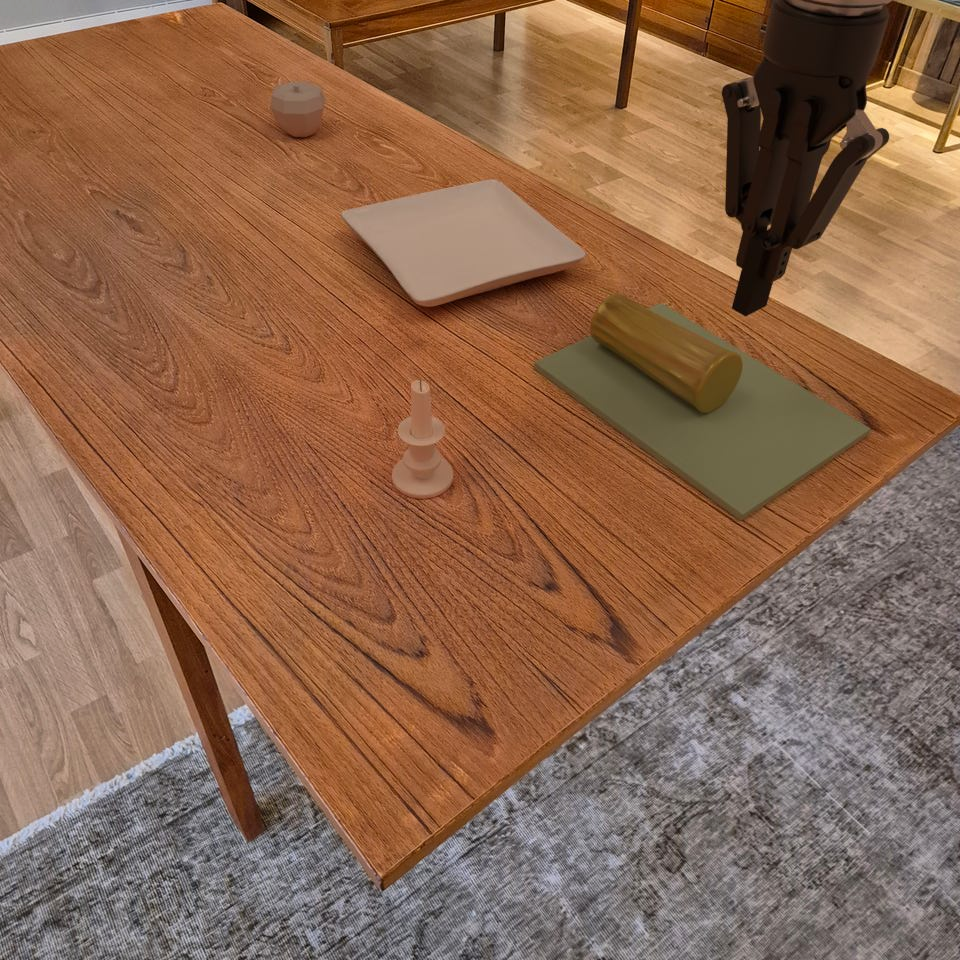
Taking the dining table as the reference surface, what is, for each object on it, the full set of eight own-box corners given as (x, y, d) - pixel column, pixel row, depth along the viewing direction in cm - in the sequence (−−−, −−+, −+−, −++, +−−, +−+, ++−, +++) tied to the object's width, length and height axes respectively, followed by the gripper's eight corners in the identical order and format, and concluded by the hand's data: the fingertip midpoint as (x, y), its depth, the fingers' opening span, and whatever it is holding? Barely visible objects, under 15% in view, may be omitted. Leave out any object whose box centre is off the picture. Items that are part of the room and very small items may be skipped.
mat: (868, 435, 81) (871, 428, 81) (740, 521, 73) (742, 514, 72) (659, 308, 96) (661, 302, 95) (533, 368, 87) (534, 361, 87)
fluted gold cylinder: (742, 389, 83) (631, 325, 91) (746, 340, 78) (628, 277, 87) (697, 426, 81) (588, 356, 89) (699, 378, 77) (583, 309, 85)
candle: (463, 467, 77) (464, 370, 70) (437, 506, 73) (436, 408, 66) (409, 450, 78) (405, 353, 71) (381, 488, 75) (373, 390, 67)
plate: (588, 279, 100) (592, 251, 97) (418, 328, 92) (417, 300, 89) (494, 200, 113) (495, 174, 110) (339, 237, 105) (336, 210, 103)
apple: (267, 125, 128) (260, 78, 123) (320, 118, 130) (315, 71, 126) (281, 147, 123) (275, 99, 118) (336, 139, 125) (332, 91, 121)
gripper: (718, -17, 60) (660, 287, 76) (887, 36, 53) (783, 360, 69) (787, -34, 63) (718, 261, 80) (955, 14, 56) (841, 327, 72)
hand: (749, 307), depth 74 cm, fingers closed
